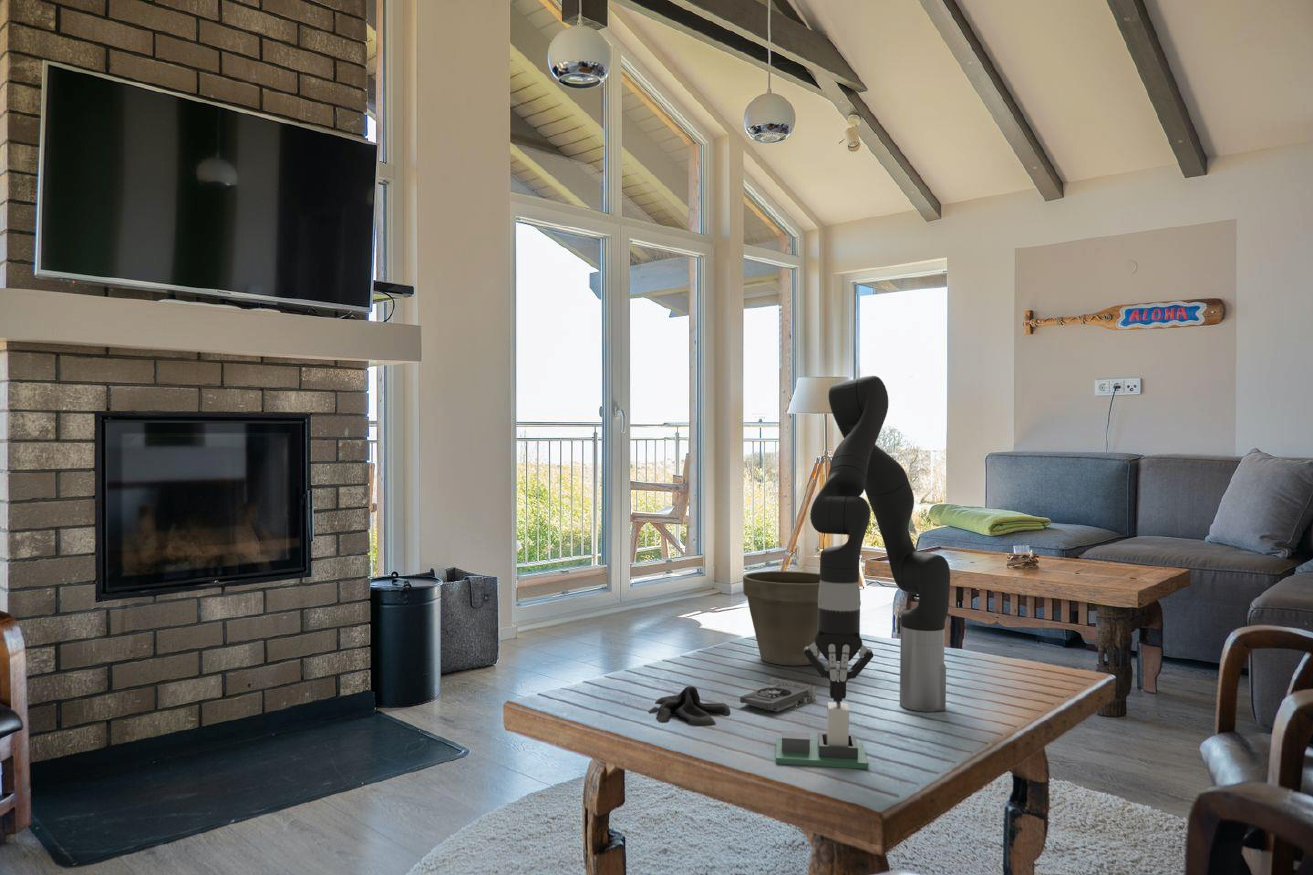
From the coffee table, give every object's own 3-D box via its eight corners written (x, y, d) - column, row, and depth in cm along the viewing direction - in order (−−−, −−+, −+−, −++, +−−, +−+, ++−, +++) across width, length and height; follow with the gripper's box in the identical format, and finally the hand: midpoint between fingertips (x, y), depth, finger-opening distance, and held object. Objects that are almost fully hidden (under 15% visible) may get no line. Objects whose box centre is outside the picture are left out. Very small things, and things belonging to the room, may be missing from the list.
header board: (862, 748, 178) (862, 729, 178) (867, 768, 167) (868, 748, 167) (776, 743, 180) (776, 725, 180) (775, 763, 169) (776, 743, 169)
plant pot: (784, 644, 265) (785, 566, 265) (857, 660, 247) (858, 577, 247) (722, 657, 248) (723, 574, 248) (796, 676, 230) (797, 587, 230)
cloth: (667, 696, 213) (668, 669, 213) (745, 708, 205) (745, 680, 204) (619, 723, 193) (619, 693, 193) (702, 738, 185) (703, 706, 185)
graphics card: (771, 676, 218) (816, 684, 210) (771, 692, 218) (816, 701, 210) (727, 691, 206) (773, 701, 198) (727, 708, 206) (773, 719, 198)
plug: (846, 746, 175) (847, 699, 175) (847, 754, 171) (849, 705, 171) (826, 745, 176) (827, 697, 175) (827, 753, 171) (828, 704, 171)
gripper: (874, 603, 176) (872, 696, 176) (801, 600, 178) (800, 693, 178) (878, 610, 168) (876, 708, 168) (802, 607, 170) (801, 704, 170)
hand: (837, 700), depth 173 cm, fingers closed
